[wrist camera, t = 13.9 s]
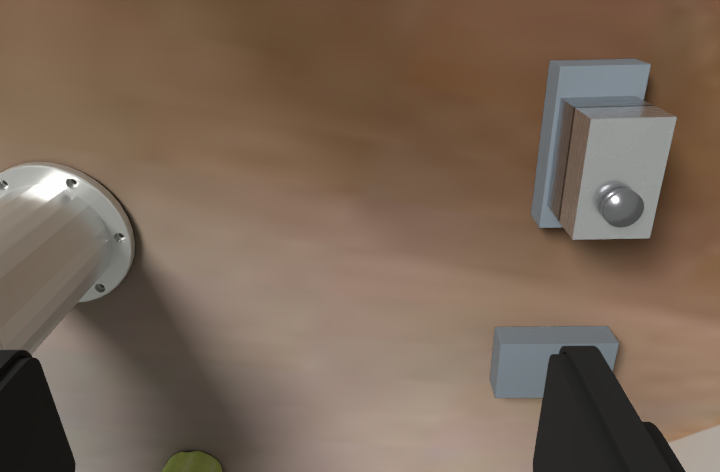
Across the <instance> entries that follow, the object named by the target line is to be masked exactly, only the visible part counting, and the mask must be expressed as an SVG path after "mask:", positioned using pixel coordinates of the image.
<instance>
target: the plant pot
mask: <svg viewBox="0 0 720 472" xmlns="http://www.w3.org/2000/svg"><path fill="white" fill-rule="evenodd" d="M161 472H223V471H222V468H221V465H220V463H219V462H218V461H217V460H216V459H215V458H214V457H212V456H210V455H208V454H206V453H204V452H200V451H193V452H187V453H185V452H179V453H177V454H175V455H173V456H172V457H171V458H170V459H169V460H168V462H167V463H166V465H165V467H164V468H163V470H162V471H161Z"/></svg>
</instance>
